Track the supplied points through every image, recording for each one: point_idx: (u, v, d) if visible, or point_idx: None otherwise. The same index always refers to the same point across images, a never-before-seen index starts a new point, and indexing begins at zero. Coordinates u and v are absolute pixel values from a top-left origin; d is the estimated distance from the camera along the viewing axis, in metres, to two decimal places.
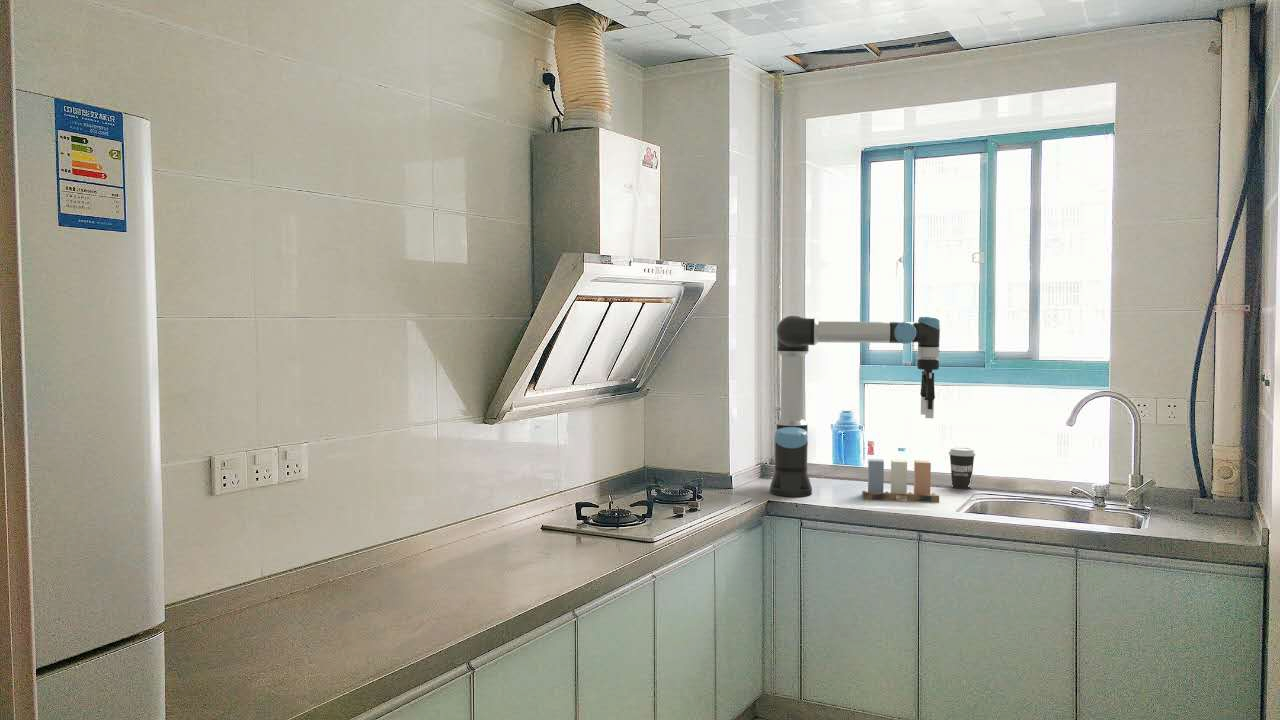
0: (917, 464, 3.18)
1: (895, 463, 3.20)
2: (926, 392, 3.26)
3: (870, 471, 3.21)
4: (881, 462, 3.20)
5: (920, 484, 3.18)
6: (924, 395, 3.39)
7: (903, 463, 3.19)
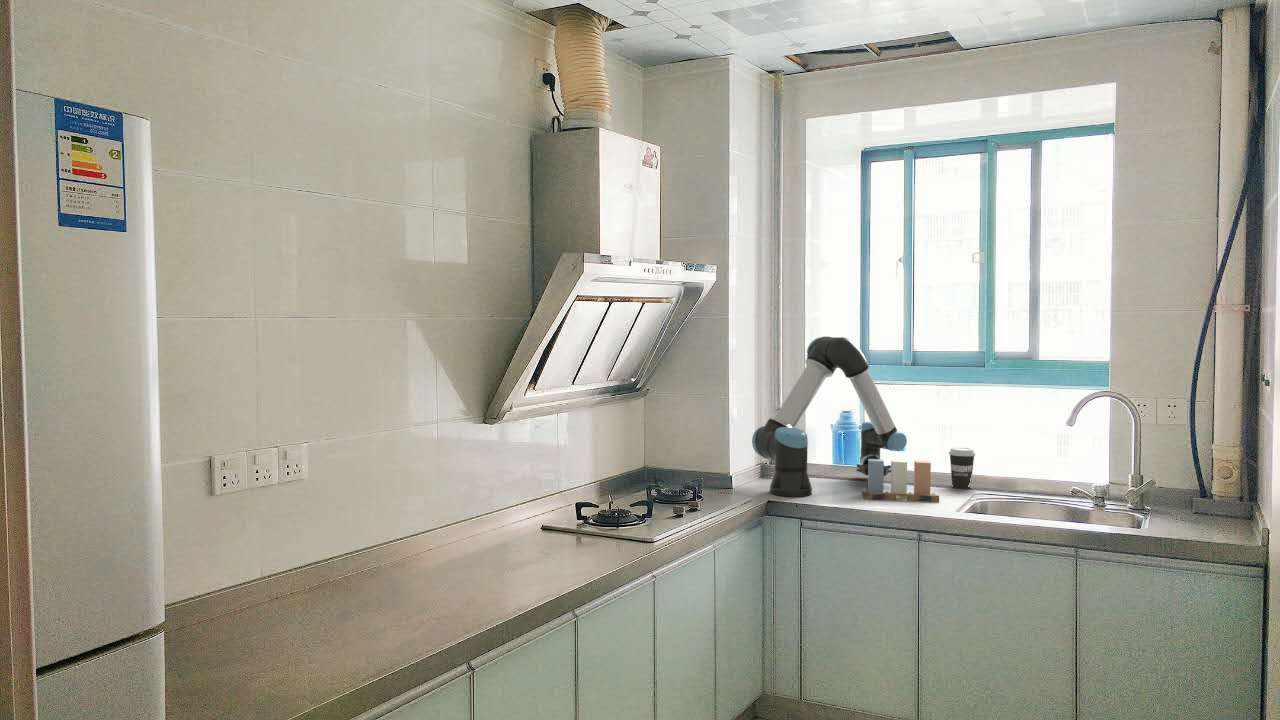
0: (917, 464, 3.18)
1: (895, 463, 3.20)
2: None
3: (870, 471, 3.21)
4: (881, 462, 3.20)
5: (920, 484, 3.18)
6: None
7: (903, 463, 3.19)
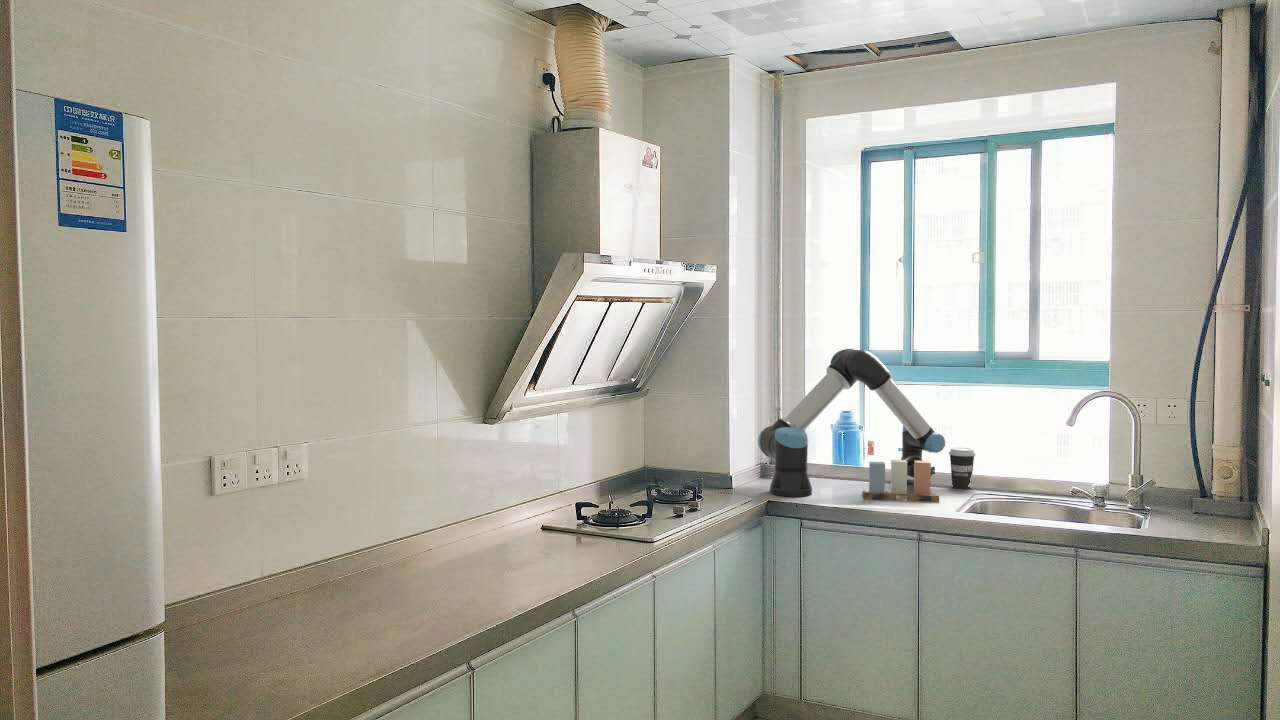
0: (917, 464, 3.18)
1: (895, 463, 3.20)
2: None
3: (871, 474, 3.15)
4: (882, 465, 3.15)
5: (920, 484, 3.18)
6: None
7: (903, 463, 3.19)
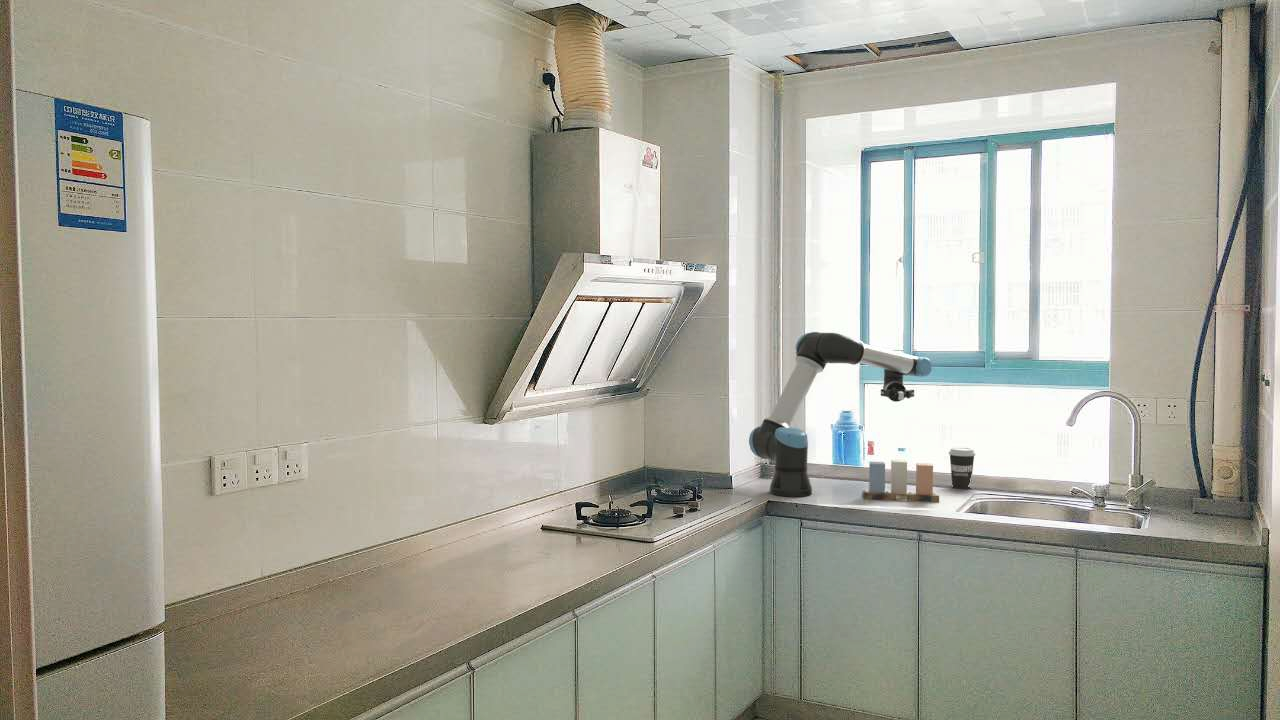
0: (919, 467, 3.12)
1: (895, 463, 3.20)
2: None
3: (871, 474, 3.15)
4: (882, 465, 3.15)
5: (922, 487, 3.12)
6: None
7: (903, 463, 3.19)
